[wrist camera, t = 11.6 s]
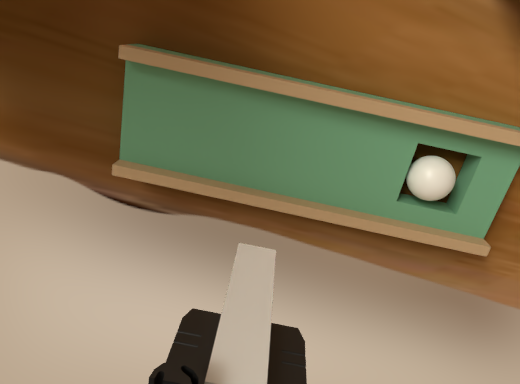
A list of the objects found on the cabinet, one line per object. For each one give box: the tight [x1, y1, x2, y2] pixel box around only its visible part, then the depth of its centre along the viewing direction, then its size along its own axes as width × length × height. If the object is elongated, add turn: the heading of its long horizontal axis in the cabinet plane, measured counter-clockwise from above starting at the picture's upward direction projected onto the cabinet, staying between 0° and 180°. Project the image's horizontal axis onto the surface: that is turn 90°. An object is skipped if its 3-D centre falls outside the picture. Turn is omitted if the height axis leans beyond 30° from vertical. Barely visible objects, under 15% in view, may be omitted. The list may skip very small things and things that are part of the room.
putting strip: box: [112, 44, 520, 257], centre depth 34 cm, size 11×34×4 cm, turn 79°
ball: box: [406, 156, 456, 201], centre depth 35 cm, size 4×4×4 cm
